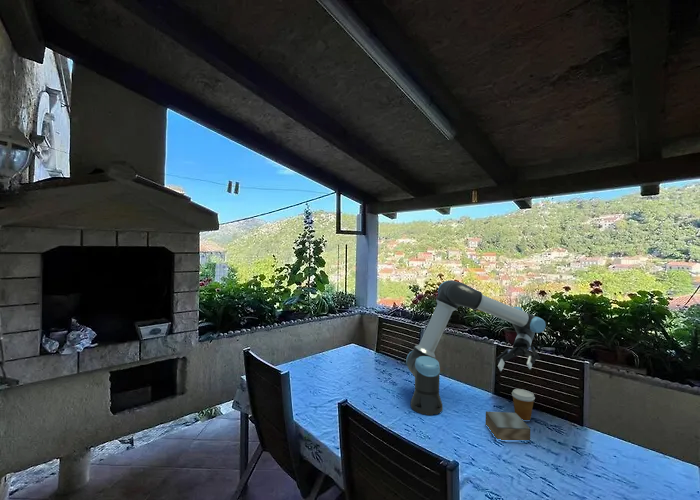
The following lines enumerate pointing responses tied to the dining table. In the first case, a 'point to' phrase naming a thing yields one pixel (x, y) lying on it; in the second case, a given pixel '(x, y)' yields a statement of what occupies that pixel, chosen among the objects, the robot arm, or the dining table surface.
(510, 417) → the block
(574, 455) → the dining table surface
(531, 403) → the disposable coffee cup
